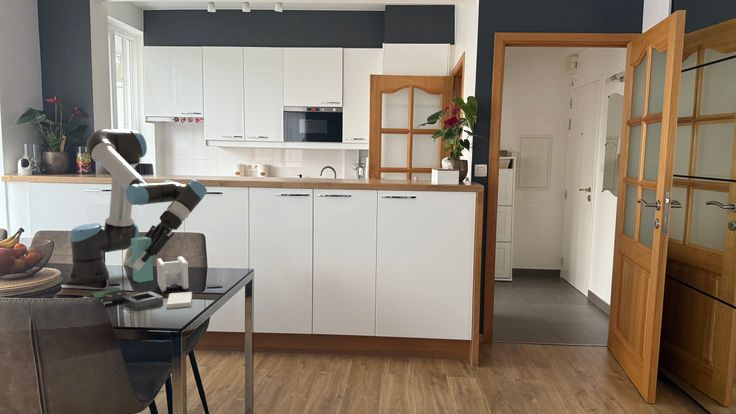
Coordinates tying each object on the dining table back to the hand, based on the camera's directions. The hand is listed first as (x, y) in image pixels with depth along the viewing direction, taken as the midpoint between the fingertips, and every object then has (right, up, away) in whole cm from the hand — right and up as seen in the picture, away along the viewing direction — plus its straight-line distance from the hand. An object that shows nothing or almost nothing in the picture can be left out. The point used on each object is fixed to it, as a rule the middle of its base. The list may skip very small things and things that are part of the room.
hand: (131, 267), depth 182 cm
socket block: (+2, -14, +5) cm, 15 cm away
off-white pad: (+14, -14, +9) cm, 21 cm away
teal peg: (+3, -5, +3) cm, 7 cm away
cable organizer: (+4, -12, +28) cm, 30 cm away
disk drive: (-13, -14, +11) cm, 22 cm away
